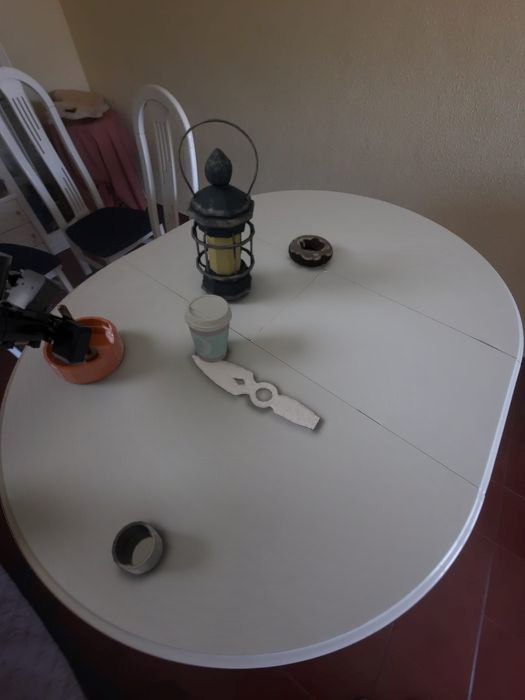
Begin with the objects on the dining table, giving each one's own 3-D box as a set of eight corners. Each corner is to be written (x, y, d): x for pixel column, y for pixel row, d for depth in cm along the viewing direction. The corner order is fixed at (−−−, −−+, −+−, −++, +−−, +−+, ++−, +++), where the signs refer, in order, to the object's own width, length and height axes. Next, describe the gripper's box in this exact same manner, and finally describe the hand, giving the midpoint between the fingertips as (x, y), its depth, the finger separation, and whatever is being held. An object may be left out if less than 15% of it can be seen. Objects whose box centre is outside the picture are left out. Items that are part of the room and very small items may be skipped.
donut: (330, 246, 94) (333, 233, 91) (331, 272, 87) (334, 259, 84) (289, 243, 95) (290, 230, 92) (286, 268, 87) (287, 255, 84)
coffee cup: (186, 343, 70) (178, 297, 62) (226, 334, 73) (223, 288, 64) (196, 373, 65) (189, 327, 56) (238, 362, 67) (238, 317, 59)
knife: (308, 438, 58) (309, 436, 57) (181, 366, 67) (181, 364, 66) (323, 411, 61) (324, 409, 60) (200, 346, 70) (200, 344, 69)
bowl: (60, 395, 62) (47, 380, 58) (51, 346, 69) (39, 329, 65) (132, 369, 66) (125, 353, 62) (116, 325, 73) (109, 308, 70)
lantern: (192, 305, 78) (161, 134, 51) (202, 270, 86) (180, 106, 59) (254, 309, 78) (255, 138, 51) (258, 273, 86) (261, 110, 59)
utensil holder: (127, 582, 44) (117, 578, 41) (118, 541, 47) (107, 534, 44) (167, 560, 46) (161, 554, 43) (156, 521, 49) (148, 513, 46)
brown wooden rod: (96, 361, 66) (67, 311, 56) (79, 362, 66) (47, 312, 56) (100, 348, 68) (73, 298, 58) (83, 349, 68) (53, 299, 58)
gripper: (54, 291, 44) (133, 303, 59) (-39, 250, 49) (56, 270, 64) (33, 369, 46) (116, 362, 61) (-54, 322, 51) (42, 326, 66)
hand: (81, 327), depth 63 cm, fingers open, 3 cm apart
